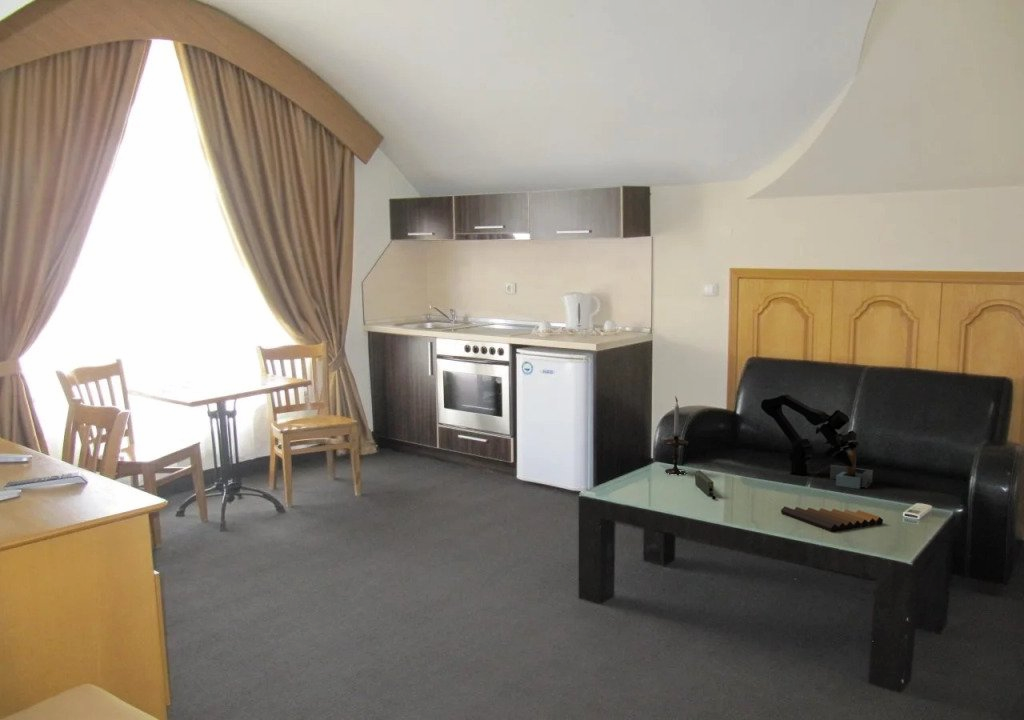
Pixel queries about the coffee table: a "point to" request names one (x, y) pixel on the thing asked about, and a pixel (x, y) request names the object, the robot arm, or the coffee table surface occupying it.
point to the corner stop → (865, 473)
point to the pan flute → (833, 518)
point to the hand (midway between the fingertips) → (854, 465)
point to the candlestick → (675, 443)
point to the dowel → (852, 456)
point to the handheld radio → (704, 484)
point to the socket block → (849, 480)
